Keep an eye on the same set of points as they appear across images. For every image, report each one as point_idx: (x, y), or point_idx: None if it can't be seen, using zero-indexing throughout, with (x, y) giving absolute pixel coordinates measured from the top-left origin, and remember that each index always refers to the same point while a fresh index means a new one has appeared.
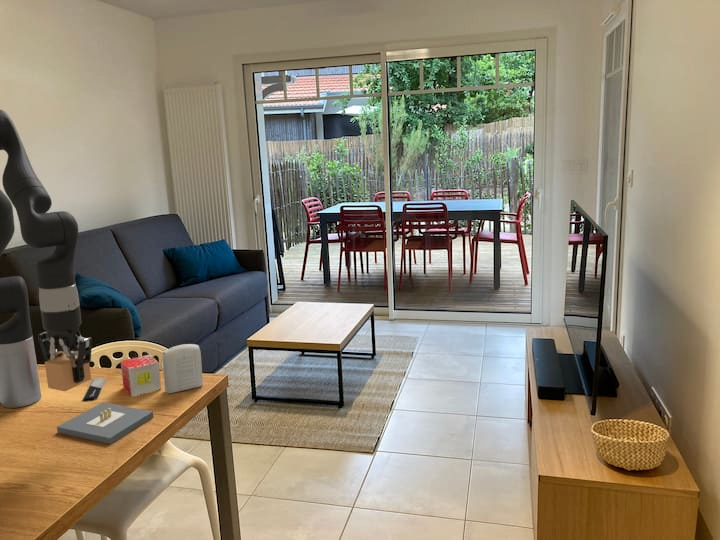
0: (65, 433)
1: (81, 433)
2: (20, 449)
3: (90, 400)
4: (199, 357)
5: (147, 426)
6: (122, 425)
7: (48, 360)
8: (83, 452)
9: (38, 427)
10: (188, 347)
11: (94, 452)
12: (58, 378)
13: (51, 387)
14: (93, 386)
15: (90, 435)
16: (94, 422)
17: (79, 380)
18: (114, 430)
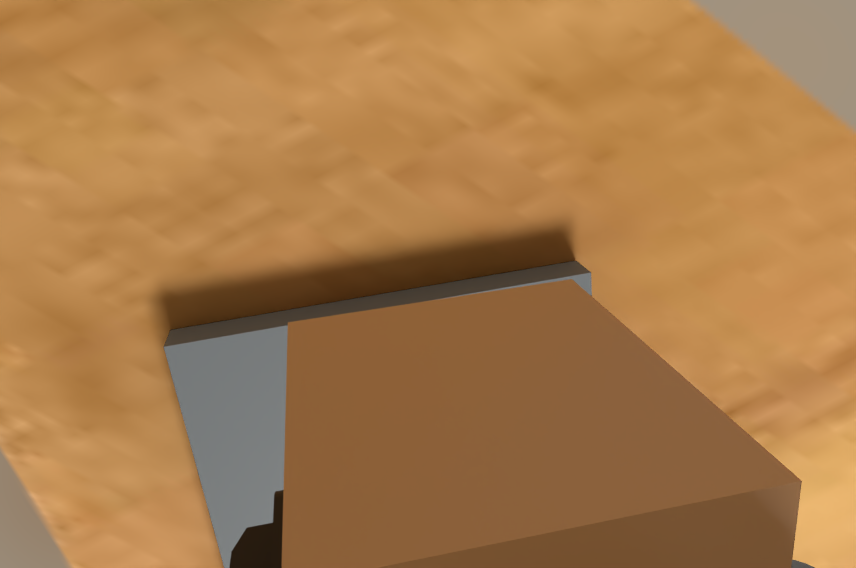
0: (518, 272)
1: (397, 302)
2: (606, 33)
3: None
4: None
5: (179, 544)
6: (246, 470)
7: (786, 556)
8: (225, 193)
9: (726, 245)
10: None
11: (164, 225)
12: (396, 383)
13: (521, 292)
14: None
15: (325, 314)
16: None
17: (243, 536)
18: (231, 414)
